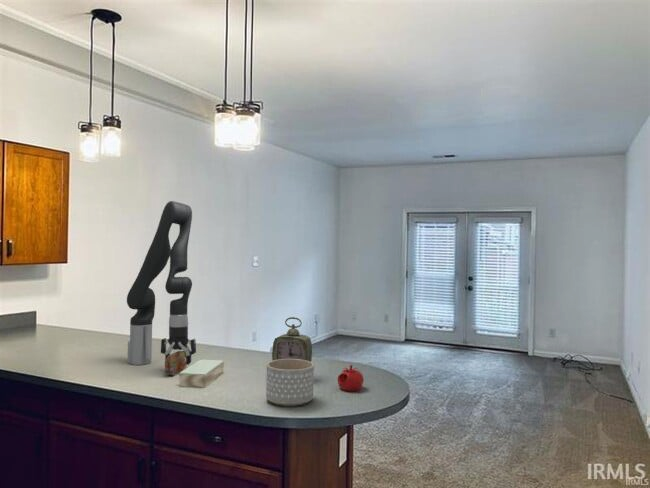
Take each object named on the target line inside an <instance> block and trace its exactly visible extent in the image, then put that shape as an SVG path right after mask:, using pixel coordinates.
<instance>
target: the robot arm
mask: <svg viewBox="0 0 650 488" xmlns="http://www.w3.org/2000/svg"><path fill="white" fill-rule="evenodd" d="M192 221H193V210H192V208H191V206H190V205H188V204H185V203H182V202H178V201H174V200H170V201H168V202H167V203H166V204H165V206H164V207H163V210H162V213H161V215H160V219H159V222H158V225H157V228H156V232H155V234H154V237H153V240H152V242H151V244H150V245H149V248H148V250H147V253H146V255H145V258H144V260H143V263H142V265H141V268H140V269H139V272H138V274H137V276H136V278H135V280H134V282H133V283H132V285H131V287H130V289H129V290H128V293H127V295H126V304H127V306H128V308H129V309H131V310H136V312H135V314H134V315H133V316H132V317H130V319H129V320H130V322H129V324H130V325H129V326H130V327H129V341H128V342H127V364H130V365H133V366H134V365H135V366H138V365H139V366H140V365H141V366H142V365H148V364H150V363H152V358H153V357H152V352H153V351H152V350H153V349H152V348H153V321H154V317H155V313H156V311H155V310H156V295H155V292H154V290H153V289H152V288H151V287H150V285H151V284H152V283H153V281H154V280H155V279H156V278H157V277H158V276H159V275H160V274H161V273H162V271H163V270H164V269H165V267H166V266H167V263H168V261H169V271H168V276H167V279H166V281H165V285H164V286H165V291H166V293H168V294H169V295H181V294H182V296H181V297H179V298H176V299H173V300H171V301H170V302H169V318H168V338H166V337H165V338H162V339H161V343H160V354H164V355H165V357H164V359H165V360H166V358H167V357H168V356H169V355H171V353H172V351H173V350H178V351H184V352H185V353H186V354H187V366H188V365H190V364H191V363H192V355H194V354H197V344H196V338H191V339H189V317H188V306H189V305H188V303H189V298H190V294H191V291H192V287H193V282H192V279H191V278H190V277H188V276H176V275H177V274H179V273H183V272H186V271H187V270H188V246H189V241H190V234H191V227H192ZM173 224H175V225H179V231H178V232H179V233H178V236H177V238H176V240H175V241H174V243H173V244H172V247H171V243H170V238H169V237H170V236H169V235H170V231H171V228H172V225H173ZM168 344H169V345H170V346H169V347H167V345H168ZM188 344H189V345H190V347H189V346H188Z"/></svg>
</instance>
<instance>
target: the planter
mask: <svg viewBox="0 0 650 488" xmlns="http://www.w3.org/2000/svg"><path fill="white" fill-rule="evenodd" d="M314 371H315V364H314V363H313V362H312V361H311V362H310V361H307V360H301V359H279V360H273V361H272V360H271V361H268V362H267V363H266V379H265V380H266V385H265V387H266V388H265V398H266V400H267V401H269V402H271V403H272V404H273V403H274V404H273V405H276V404H277V405H276V406H279V405H283V406H282V407H297V406H296V405H300V406H303V405H302V404H304V405H306V404H308V402H310V401H312V400H313V399H314V382H315V381H314V380H315V379H314V378H315V376H314V375H315V372H314ZM305 403H306V404H305Z"/></svg>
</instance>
